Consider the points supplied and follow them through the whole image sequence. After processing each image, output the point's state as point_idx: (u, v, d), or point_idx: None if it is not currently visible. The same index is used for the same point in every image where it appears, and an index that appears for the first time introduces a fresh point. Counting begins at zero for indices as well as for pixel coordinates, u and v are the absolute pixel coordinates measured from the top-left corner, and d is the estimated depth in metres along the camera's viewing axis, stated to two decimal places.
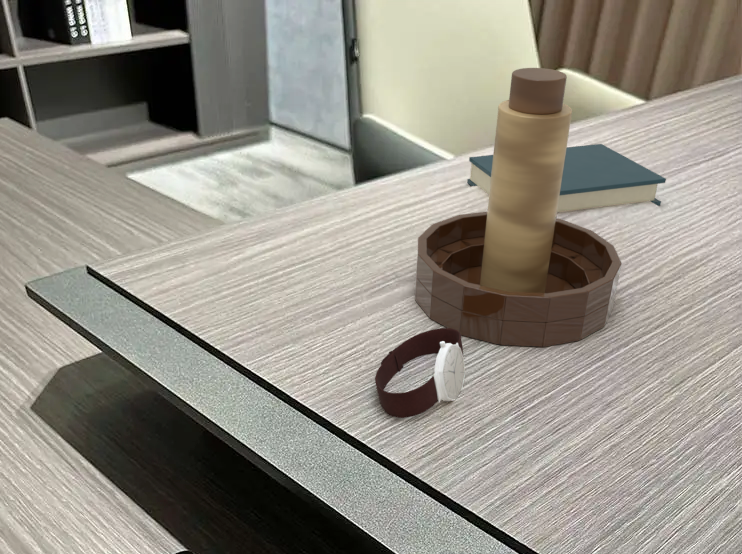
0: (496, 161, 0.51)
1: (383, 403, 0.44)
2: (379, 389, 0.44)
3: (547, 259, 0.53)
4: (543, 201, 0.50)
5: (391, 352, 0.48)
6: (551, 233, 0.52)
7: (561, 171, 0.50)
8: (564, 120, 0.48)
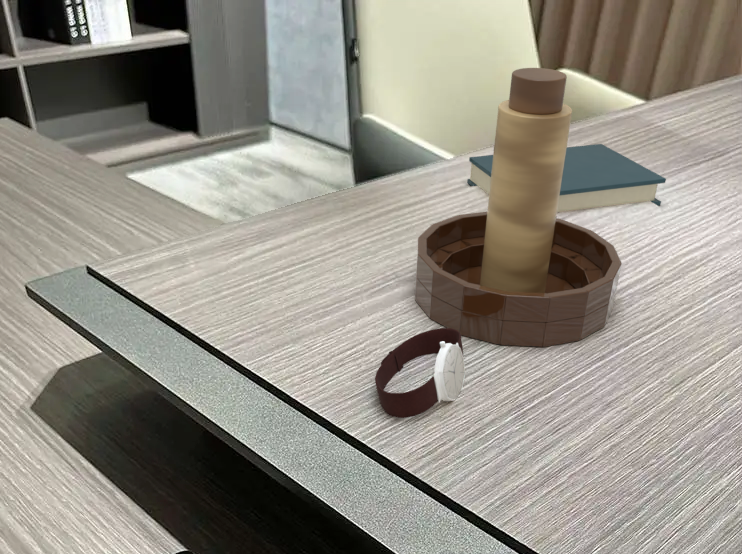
0: (496, 161, 0.51)
1: (383, 403, 0.44)
2: (379, 389, 0.44)
3: (547, 259, 0.53)
4: (543, 201, 0.50)
5: (391, 352, 0.48)
6: (551, 233, 0.52)
7: (561, 171, 0.50)
8: (564, 120, 0.48)
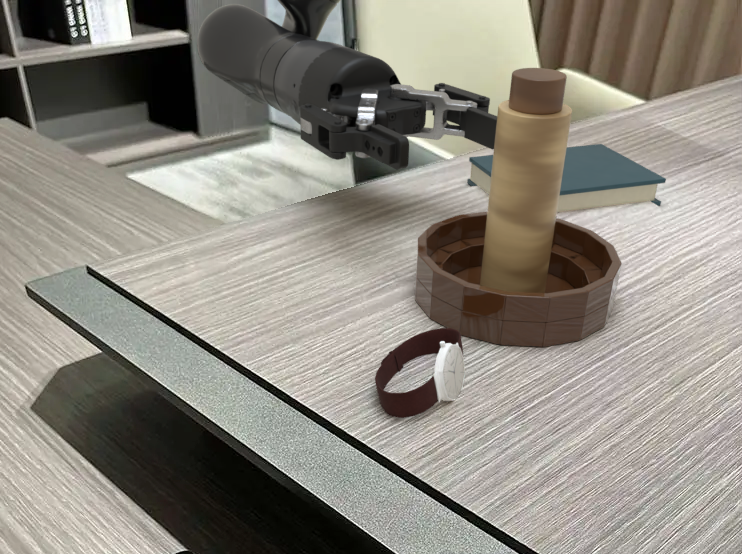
0: (496, 161, 0.51)
1: (383, 403, 0.44)
2: (379, 389, 0.44)
3: (547, 259, 0.53)
4: (543, 201, 0.50)
5: (391, 352, 0.48)
6: (551, 233, 0.52)
7: (561, 171, 0.50)
8: (564, 120, 0.48)
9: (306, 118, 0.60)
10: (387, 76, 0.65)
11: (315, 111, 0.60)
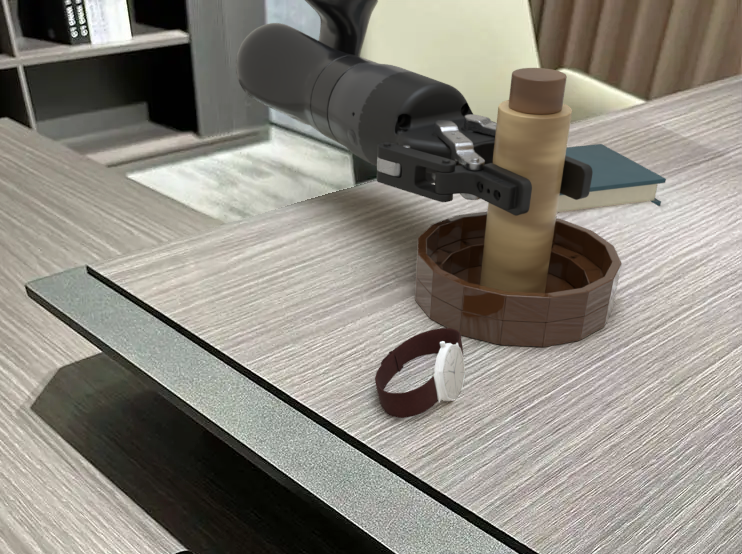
0: (496, 161, 0.51)
1: (383, 403, 0.44)
2: (379, 389, 0.44)
3: (547, 259, 0.53)
4: (543, 201, 0.50)
5: (391, 352, 0.48)
6: (551, 233, 0.52)
7: (561, 171, 0.50)
8: (564, 120, 0.48)
9: (391, 159, 0.53)
10: (459, 105, 0.59)
11: (402, 150, 0.53)
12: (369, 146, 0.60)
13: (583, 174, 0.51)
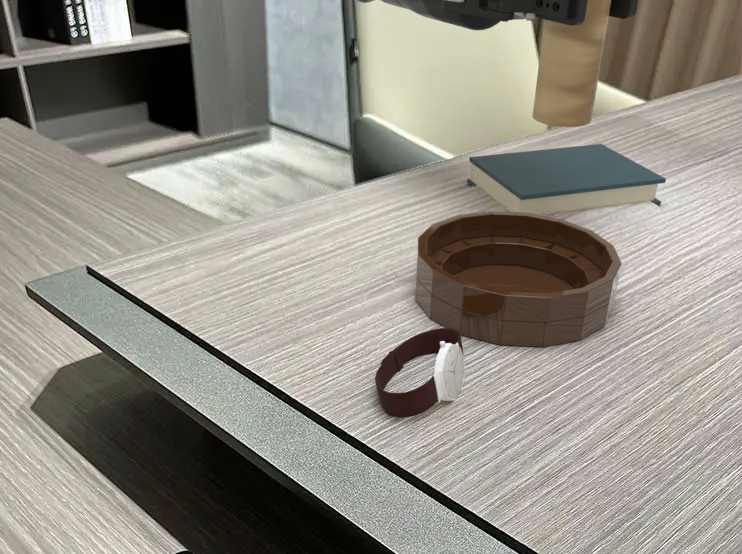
0: None
1: (383, 403, 0.44)
2: (379, 389, 0.44)
3: (596, 77, 0.59)
4: (596, 16, 0.57)
5: (391, 352, 0.48)
6: (601, 51, 0.58)
7: None
8: None
9: None
10: None
11: None
12: None
13: None
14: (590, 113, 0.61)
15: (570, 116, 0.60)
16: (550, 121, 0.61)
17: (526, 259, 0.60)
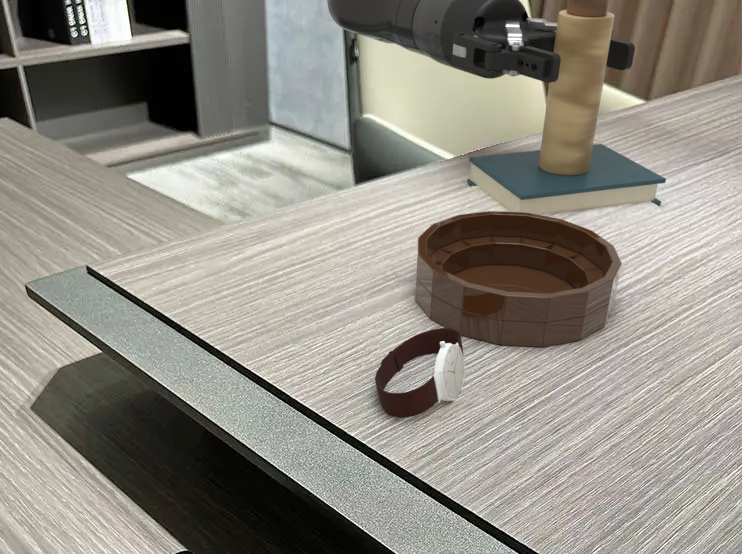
0: None
1: (383, 403, 0.44)
2: (379, 389, 0.44)
3: (593, 134, 0.70)
4: (592, 85, 0.67)
5: (391, 352, 0.48)
6: (596, 112, 0.69)
7: (605, 62, 0.67)
8: (609, 21, 0.65)
9: (461, 44, 0.70)
10: (520, 12, 0.75)
11: (469, 37, 0.69)
12: (449, 46, 0.76)
13: (628, 49, 0.68)
14: (588, 163, 0.71)
15: (570, 166, 0.71)
16: (553, 170, 0.71)
17: (526, 259, 0.60)
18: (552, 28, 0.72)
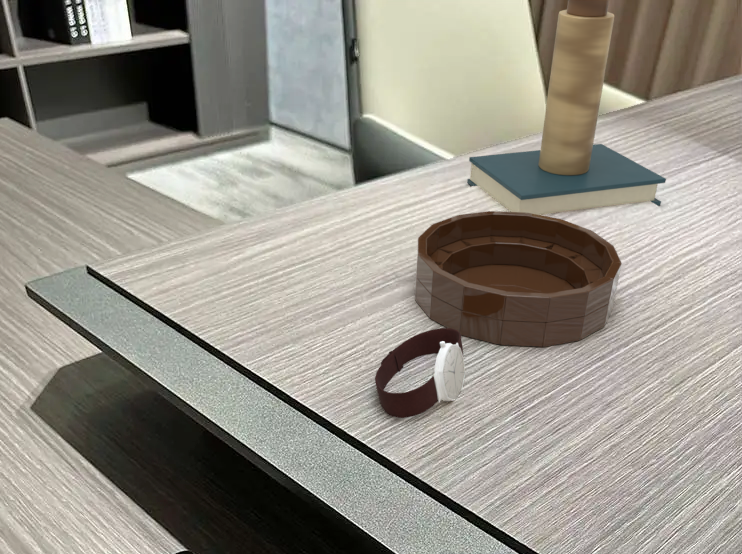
0: (556, 55, 0.67)
1: (383, 403, 0.44)
2: (379, 389, 0.44)
3: (593, 134, 0.70)
4: (592, 85, 0.67)
5: (391, 352, 0.48)
6: (596, 112, 0.69)
7: (605, 62, 0.67)
8: (609, 21, 0.65)
9: None
10: None
11: None
12: None
13: None
14: (588, 163, 0.71)
15: (570, 166, 0.71)
16: (553, 170, 0.71)
17: (526, 259, 0.60)
18: None
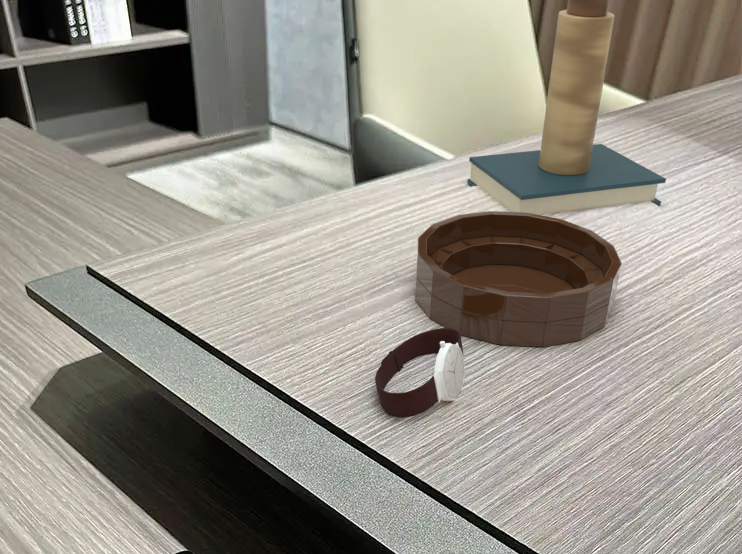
0: (556, 55, 0.67)
1: (383, 403, 0.44)
2: (379, 389, 0.44)
3: (593, 134, 0.70)
4: (592, 85, 0.67)
5: (391, 352, 0.48)
6: (596, 112, 0.69)
7: (605, 62, 0.67)
8: (609, 21, 0.65)
9: None
10: None
11: None
12: None
13: None
14: (588, 163, 0.71)
15: (570, 166, 0.71)
16: (553, 170, 0.71)
17: (526, 259, 0.60)
18: None
